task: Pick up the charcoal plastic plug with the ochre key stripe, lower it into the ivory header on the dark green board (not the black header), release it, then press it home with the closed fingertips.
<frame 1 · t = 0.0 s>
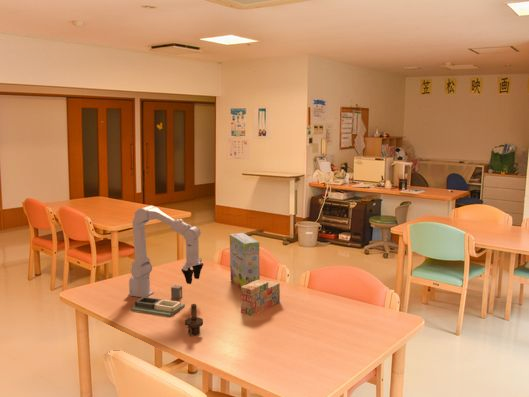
hand: (192, 281, 235), 10 cm above the table, tool pointing down, fingers open, 7 cm apart
stack of blocks: (260, 307, 230), on the table
industrial component: (195, 332, 203), on the table
board: (158, 308, 228), on the table
plug: (176, 297, 242), on the table
snack box: (244, 286, 259), on the table
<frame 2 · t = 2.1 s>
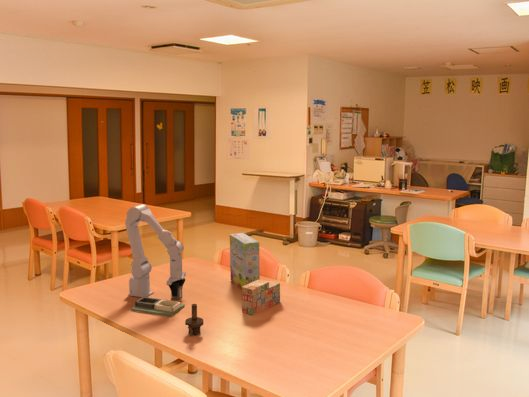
hand: (176, 294, 241), 1 cm above the table, tool pointing down, fingers closed on plug, 3 cm apart
plug: (176, 297, 242), on the table, touching gripper
everything else where it was.
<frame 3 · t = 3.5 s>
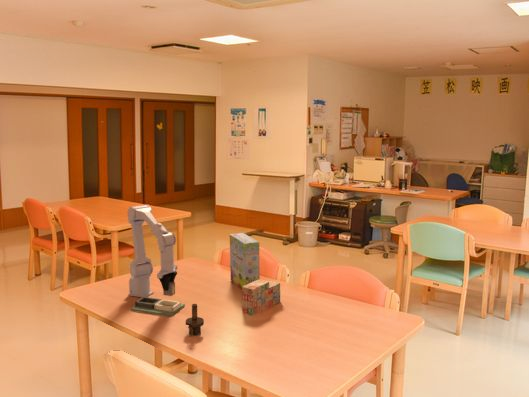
hand: (168, 289, 227), 9 cm above the table, tool pointing down, fingers closed on plug, 3 cm apart
plug: (169, 294, 227), point 7 cm above the table, touching gripper
everything else where it was.
when the fingers open (4 cm above the table, at t = 4.9 s): plug stays where it is, resting on board.
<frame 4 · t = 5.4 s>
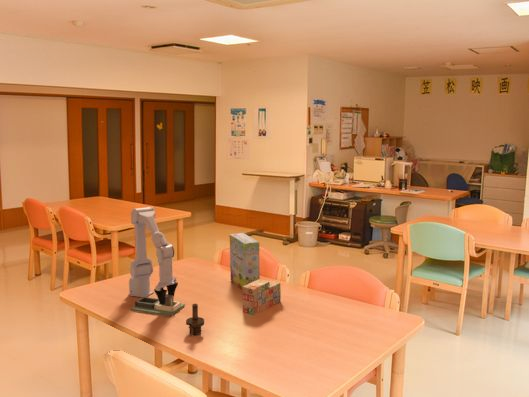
hand: (166, 301, 226), 4 cm above the table, tool pointing down, fingers open, 7 cm apart
plug: (167, 307, 226), point 1 cm above the table, touching board
everything else where it was.
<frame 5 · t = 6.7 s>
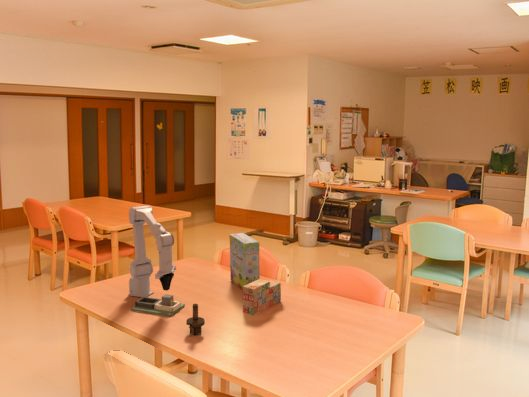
hand: (166, 289, 225), 9 cm above the table, tool pointing down, fingers closed
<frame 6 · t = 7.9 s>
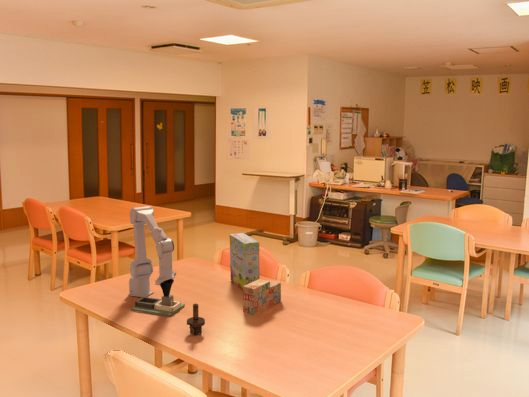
hand: (166, 295, 226), 7 cm above the table, tool pointing down, fingers closed
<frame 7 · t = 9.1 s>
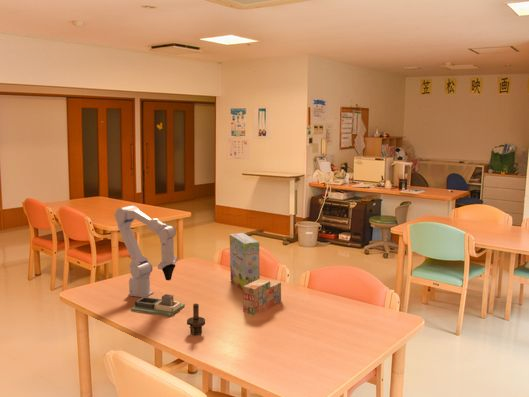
hand: (168, 279, 237), 10 cm above the table, tool pointing down, fingers closed
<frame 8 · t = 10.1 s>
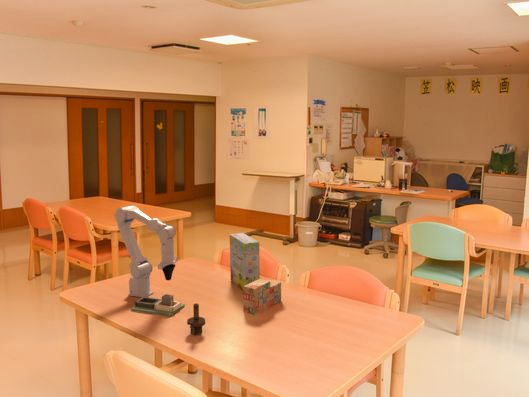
hand: (168, 279, 237), 10 cm above the table, tool pointing down, fingers closed
at the end: plug 0.0 cm from the target spot on the board, point 1.0 cm above the board's base; plug tilted 0°; the gripper is holding nothing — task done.
